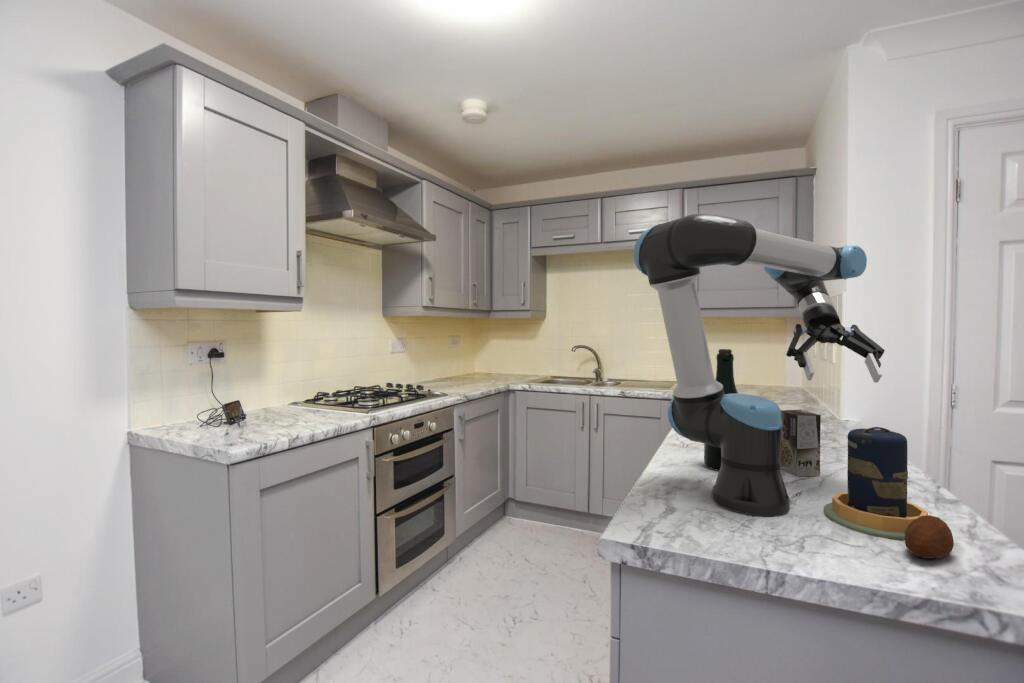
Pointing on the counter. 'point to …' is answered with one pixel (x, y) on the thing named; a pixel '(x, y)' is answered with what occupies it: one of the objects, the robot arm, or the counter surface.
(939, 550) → the potato
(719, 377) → the dark wine bottle
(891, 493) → the canister
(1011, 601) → the counter surface
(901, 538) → the green orange round dish
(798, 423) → the coffee box
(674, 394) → the robot arm
